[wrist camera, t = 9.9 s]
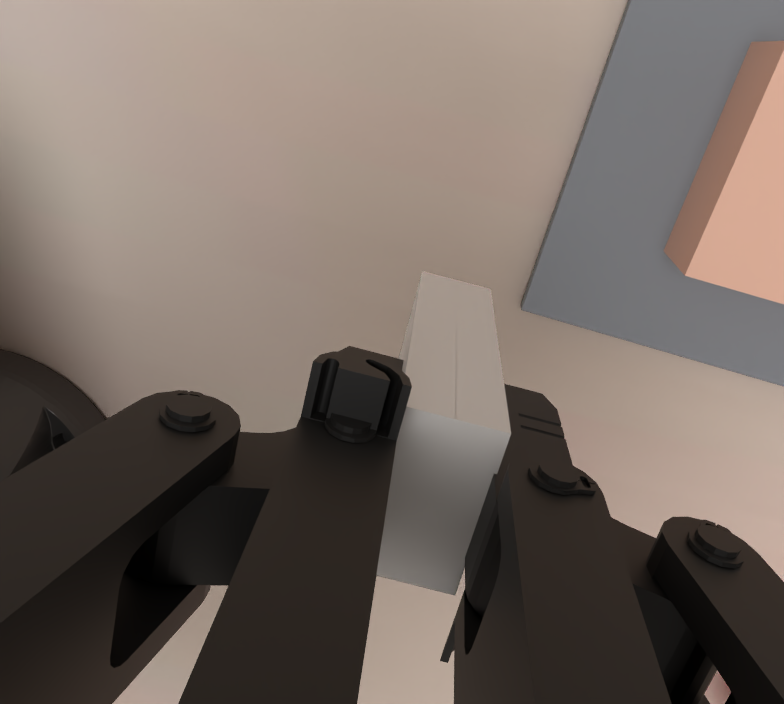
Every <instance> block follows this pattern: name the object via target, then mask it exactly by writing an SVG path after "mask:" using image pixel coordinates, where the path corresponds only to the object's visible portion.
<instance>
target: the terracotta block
mask: <svg viewBox="0 0 784 704" xmlns="http://www.w3.org/2000/svg"><path fill="white" fill-rule="evenodd" d="M664 252H665V254H666V255H667V256H668V257H669V258H670V259H671V260H672V262H673V263H674V264H675V265H676V266H677V267H678V268H679V270H680V271H681V272H682V273H683V274H684V275H685V276H688V277H691V278H695V279H698V280H702V281H705V282H708V283H712V284H715V285H719V286H722V287H726V288H729V289H733V290H736V291H739V292H743V293H746V294H750V295H753V296H757V297H760V298H764V299H767V300H770V301H774V302H777V303H781V304H784V41H762V42H751V44H750V47H749V49H748V51H747V54H746V56H745V58H744V61H743V63H742V66H741V68H740V70H739V73H738V75H737V77H736V80H735V82H734V85H733V87H732V89H731V92H730V94H729V96H728V99H727V101H726V104H725V106H724V108H723V111H722V113H721V115H720V118H719V120H718V123H717V125H716V127H715V130H714V132H713V134H712V137H711V139H710V142H709V144H708V146H707V149H706V151H705V153H704V156H703V158H702V161H701V163H700V165H699V168H698V170H697V172H696V175H695V177H694V180H693V182H692V184H691V187H690V189H689V192H688V194H687V196H686V199H685V201H684V203H683V206H682V208H681V211H680V213H679V215H678V218H677V220H676V222H675V225H674V227H673V230H672V232H671V234H670V237H669V239H668V241H667V244H666V246H665V249H664Z"/></svg>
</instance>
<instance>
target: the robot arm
mask: <svg viewBox="0 0 784 704" xmlns="http://www.w3.org/2000/svg"><path fill="white" fill-rule="evenodd" d="M240 427H241V425H240V419H239V415H238V414H237V413H236V412H235V411H234V410H233V409H232V408H231V407H230V406H229V405H227V404H225V403H223V402H221V401H220V400H218V399H216V398H213V397H209V396H206V395H203V394H202V393H199V392H193V391H190V392H188V391H180V390H178V391H173V392H163V393H156V394H154V395H151V396H148V397H145V398H143V399H141V400H139V401H137V402H136V403H134V404H132V405H130V406H129V407H127V408H125V409H124V410H122V411H120V412H118V413H117V414H115V415H113V416H112V417H110V418H108V419H106V420H105V419H104V417H103V416H102V415H101V413H100V412H99V411H98V410H97V408H96V407H95V406H94V405H93V404H92V403H91V402H90V401H89V399H88V398H87V397H86V396H85V395H84V394H82V393H81V392H80V391H79V390H78V389H77V388H76V387H75V386H73V385H72V384H71V383H70V382H68V381H67V380H66V379H64V378H63V377H61V376H60V375H59V374H57V373H55V372H54V371H52V370H51V369H49V368H47V367H45V366H43V365H42V364H40V363H37V362H35V361H33V360H31V359H29V358H26V357H24V356H21V355H18V354H15V353H12V352H8V351H4V350H0V704H112V703H113V702H114V701H115V700H116V699H117V698H118V697H119V695H120V694H121V693H122V692H123V691H124V690H125V689H126V688H127V686H128V685H129V684H130V683H131V682H132V681H133V680H134V679H135V677H136V676H137V675H138V674H139V673H140V672H141V671H142V670H143V669H144V667H145V666H146V665H147V664H148V663H149V662H150V661H151V660H152V658H153V657H154V656H155V655H156V654H157V653H158V652H159V651H160V649H161V648H162V647H163V646H164V645H165V644H166V643H167V642H168V641H169V639H170V638H171V637H172V636H173V635H174V634H175V633H176V632H177V630H178V629H179V628H180V627H181V626H182V625H183V624H184V623H185V621H186V620H187V619H188V618H189V617H190V616H191V615H192V614H193V612H194V611H195V610H196V609H197V608H198V607H199V606H200V605H201V604H202V602H203V601H204V599H205V597H206V595H207V594H208V592H209V590H210V585H229V586H228V589H227V591H226V593H225V596H224V598H223V600H222V603H221V605H220V607H219V610H218V612H217V614H216V617H215V619H214V621H213V624H212V626H211V628H210V631H209V633H208V636H207V638H206V640H205V643H204V645H203V647H202V650H201V652H200V654H199V657H198V659H197V661H196V664H195V666H194V668H193V671H192V673H191V675H190V678H189V680H188V682H187V685H186V687H185V689H184V692H183V694H182V697H181V699H180V701H179V704H357V699H358V693H359V686H360V679H361V673H362V666H363V660H364V653H365V647H366V640H367V633H368V627H369V620H370V614H371V607H372V600H373V594H374V587H375V581H376V575H377V576H381V577H385V578H389V579H392V580H396V581H400V582H404V583H408V584H412V585H416V586H420V587H424V588H428V589H432V590H436V591H440V592H443V593H447V594H451V595H455V594H456V591H457V588H458V585H459V582H460V579H461V577H462V574H463V571H464V568H465V590H464V593H463V596H462V599H461V602H460V604H459V607H458V610H457V613H456V616H455V619H454V621H453V624H452V627H451V630H450V633H449V636H448V638H447V641H446V644H445V647H444V650H443V653H442V656H441V659H440V661H443V662H447V663H448V661H449V658H450V655H451V653H452V651H454V650H455V652H454V704H710V703H709V701H708V700H707V698H706V697H705V695H704V693H705V692H706V690H707V688H708V686H709V684H710V682H711V681H712V679H713V677H714V675H715V673H716V671H717V670H718V672H719V673H720V675H721V676H722V678H723V679H724V681H725V682H726V684H727V685H728V686H729V688H730V690H731V694H730V695H729V697H728V699H727V701H726V703H725V704H784V582H783V581H782V580H781V579H780V577H779V576H778V575H777V574H776V573H775V572H774V571H773V570H772V568H771V567H770V566H769V565H768V564H767V563H766V562H765V561H764V560H763V558H762V557H761V556H760V555H759V554H758V553H757V552H756V551H755V550H754V549H752V548H751V547H750V546H749V545H748V544H747V543H746V542H745V541H743V540H742V539H740V538H738V537H737V536H735V535H734V534H732V533H731V531H729V530H728V529H727V528H725V527H722V526H720V525H717V526H716V525H715V523H713V522H710V521H707V520H699V519H695V518H691V517H672V518H670V519H669V520H667V521H665V522H664V523H663V525H662V527H661V529H660V532H659V534H658V536H657V538H654V537H652V536H650V535H647V534H645V533H643V532H640V531H638V530H636V529H634V528H631V527H629V526H627V525H625V524H623V523H621V522H619V521H617V520H615V519H613V518H611V517H610V514H609V511H608V507H607V504H606V501H605V498H604V495H603V493H602V491H601V490H600V488H599V486H598V485H597V483H596V482H595V481H594V480H593V479H592V478H590V477H589V476H588V475H587V474H586V473H584V472H583V471H581V470H579V469H578V468H576V467H574V466H573V465H572V461H571V458H570V454H569V450H568V447H567V443H566V440H565V439H564V433H563V429H562V427H561V422H560V418H559V415H558V411H557V409H556V408H555V407H554V406H553V405H552V404H551V403H550V402H549V400H548V399H547V398H546V397H545V396H544V395H543V394H541V393H537V392H533V391H529V390H525V389H522V388H518V387H514V386H510V385H506V384H504V379H503V372H502V365H501V358H500V351H499V344H498V337H497V330H496V322H495V315H494V308H493V301H492V294H491V289H490V288H486V287H482V286H478V285H475V284H471V283H467V282H463V281H459V280H455V279H452V278H448V277H444V276H440V275H436V274H432V273H429V272H425V271H422V274H421V277H420V281H419V285H418V288H417V292H416V296H415V299H414V303H413V307H412V311H411V314H410V318H409V322H408V325H407V329H406V333H405V336H404V340H403V344H402V348H401V351H400V355H399V359H397V358H393V357H390V356H386V355H382V354H378V353H374V352H370V351H366V350H363V349H359V348H355V347H351V346H349V347H347V348H345V349H343V350H341V351H339V352H330V353H326V354H322V355H320V356H319V357H317V358H316V359H315V360H314V361H313V364H312V369H311V373H310V378H309V382H308V387H307V391H306V396H305V400H304V405H303V409H302V414H301V417H300V420H299V422H298V424H297V427H296V428H293V429H290V430H287V431H284V432H276V433H250V432H240Z"/></svg>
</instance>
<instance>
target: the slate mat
mask: <svg viewBox="0 0 784 704" xmlns="http://www.w3.org/2000/svg"><path fill="white" fill-rule="evenodd" d="M762 41H784V0H628V3H627V5H626V8H625V11H624V14H623V17H622V20H621V22H620V25H619V28H618V31H617V34H616V37H615V39H614V42H613V45H612V48H611V51H610V54H609V56H608V59H607V62H606V65H605V68H604V71H603V73H602V76H601V79H600V82H599V85H598V88H597V90H596V93H595V96H594V99H593V102H592V105H591V107H590V110H589V113H588V116H587V119H586V122H585V124H584V127H583V130H582V133H581V136H580V139H579V141H578V144H577V147H576V150H575V153H574V156H573V158H572V161H571V164H570V167H569V170H568V173H567V175H566V178H565V181H564V184H563V187H562V190H561V192H560V195H559V198H558V201H557V204H556V207H555V209H554V212H553V215H552V218H551V221H550V224H549V226H548V229H547V232H546V235H545V238H544V241H543V243H542V246H541V249H540V252H539V255H538V258H537V260H536V263H535V266H534V269H533V272H532V275H531V277H530V280H529V283H528V286H527V289H526V291H525V294H524V297H523V300H522V303H521V310H523V311H527V312H530V313H534V314H537V315H540V316H544V317H547V318H551V319H554V320H558V321H561V322H564V323H568V324H571V325H575V326H578V327H582V328H585V329H589V330H592V331H595V332H599V333H602V334H606V335H609V336H613V337H616V338H619V339H623V340H626V341H630V342H633V343H637V344H640V345H643V346H647V347H650V348H654V349H657V350H661V351H664V352H667V353H671V354H674V355H678V356H681V357H685V358H688V359H691V360H695V361H698V362H702V363H705V364H709V365H712V366H715V367H719V368H722V369H726V370H729V371H733V372H736V373H740V374H743V375H746V376H750V377H753V378H757V379H760V380H764V381H767V382H770V383H774V384H777V385H781V386H784V304H781V303H777V302H774V301H770V300H767V299H764V298H760V297H757V296H753V295H750V294H746V293H743V292H739V291H736V290H733V289H729V288H726V287H722V286H719V285H715V284H712V283H708V282H705V281H702V280H698V279H695V278H691V277H688V276H685V275H684V274H683V273H682V272H681V271H680V270H679V268H678V267H677V266H676V265H675V264H674V263H673V262H672V260H671V259H670V258H669V257H668V256H667V255H666V254H665V252H664V249H665V246H666V244H667V241H668V239H669V237H670V234H671V232H672V230H673V227H674V225H675V222H676V220H677V218H678V215H679V213H680V211H681V208H682V206H683V203H684V201H685V199H686V196H687V194H688V192H689V189H690V187H691V184H692V182H693V180H694V177H695V175H696V172H697V170H698V168H699V165H700V163H701V161H702V158H703V156H704V153H705V151H706V149H707V146H708V144H709V142H710V139H711V137H712V134H713V132H714V130H715V127H716V125H717V123H718V120H719V118H720V115H721V113H722V111H723V108H724V106H725V104H726V101H727V99H728V96H729V94H730V92H731V89H732V87H733V85H734V82H735V80H736V77H737V75H738V73H739V70H740V68H741V66H742V63H743V61H744V58H745V56H746V54H747V51H748V49H749V47H750V44H751V42H762Z"/></svg>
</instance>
